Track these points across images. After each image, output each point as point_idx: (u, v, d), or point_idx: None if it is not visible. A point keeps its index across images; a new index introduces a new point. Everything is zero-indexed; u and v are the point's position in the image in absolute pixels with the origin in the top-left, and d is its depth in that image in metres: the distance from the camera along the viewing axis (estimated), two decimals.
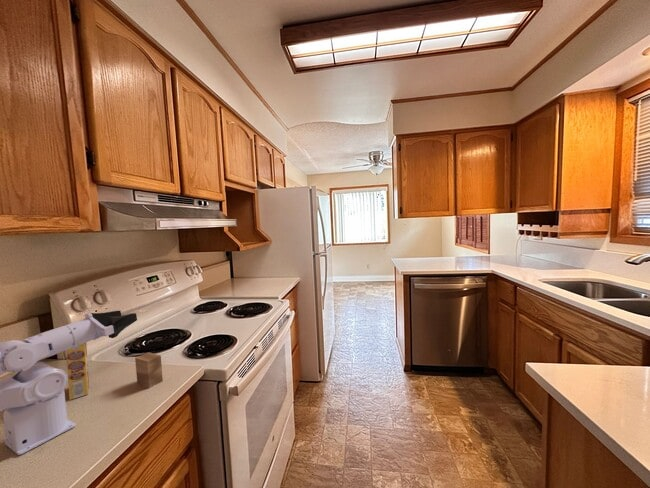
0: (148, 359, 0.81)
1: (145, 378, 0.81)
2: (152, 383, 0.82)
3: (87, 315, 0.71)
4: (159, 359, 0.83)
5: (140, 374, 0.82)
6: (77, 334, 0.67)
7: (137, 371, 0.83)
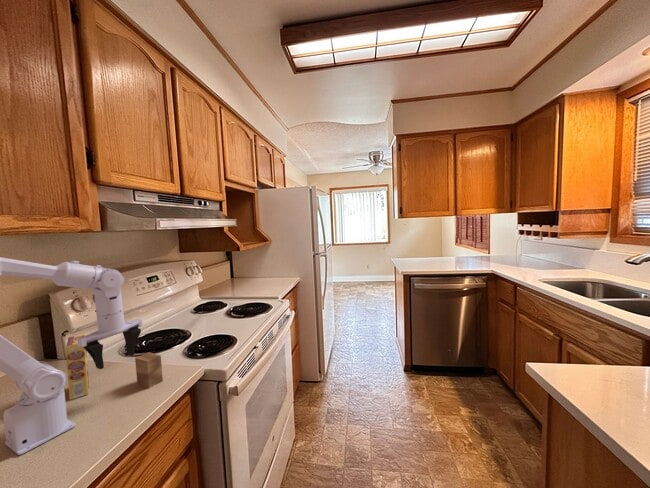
0: (148, 359, 0.81)
1: (145, 378, 0.81)
2: (152, 383, 0.82)
3: None
4: (159, 359, 0.83)
5: (140, 374, 0.82)
6: None
7: (137, 371, 0.83)
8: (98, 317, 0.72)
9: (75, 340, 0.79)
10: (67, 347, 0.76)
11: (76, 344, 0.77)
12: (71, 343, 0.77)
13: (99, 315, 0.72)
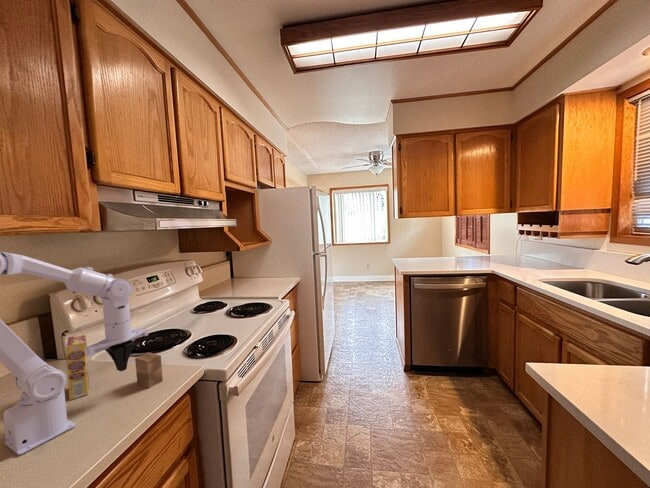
0: (148, 359, 0.81)
1: (145, 378, 0.81)
2: (152, 383, 0.82)
3: None
4: (159, 359, 0.83)
5: (140, 374, 0.82)
6: None
7: (137, 371, 0.83)
8: (106, 326, 0.74)
9: (75, 340, 0.79)
10: (67, 347, 0.76)
11: (76, 344, 0.77)
12: (71, 343, 0.77)
13: (107, 324, 0.73)
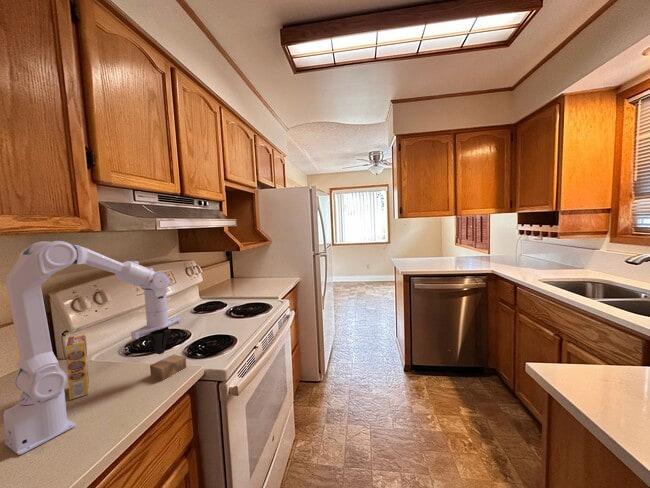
0: None
1: (166, 363, 0.87)
2: (165, 370, 0.85)
3: None
4: None
5: (164, 361, 0.89)
6: None
7: (164, 359, 0.90)
8: (147, 314, 0.83)
9: (75, 340, 0.79)
10: (67, 347, 0.76)
11: (76, 344, 0.77)
12: (71, 343, 0.77)
13: (149, 312, 0.83)
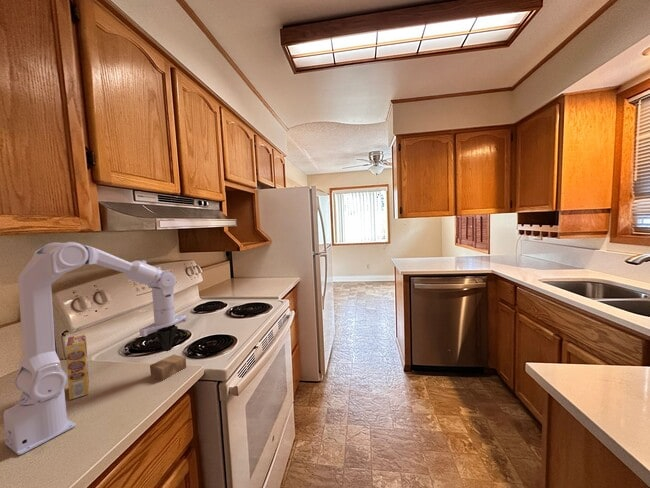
0: None
1: (166, 363, 0.87)
2: (165, 370, 0.85)
3: None
4: None
5: (164, 361, 0.89)
6: None
7: (164, 359, 0.90)
8: (155, 312, 0.85)
9: (75, 340, 0.79)
10: (67, 347, 0.76)
11: (76, 344, 0.77)
12: (71, 343, 0.77)
13: (157, 310, 0.85)
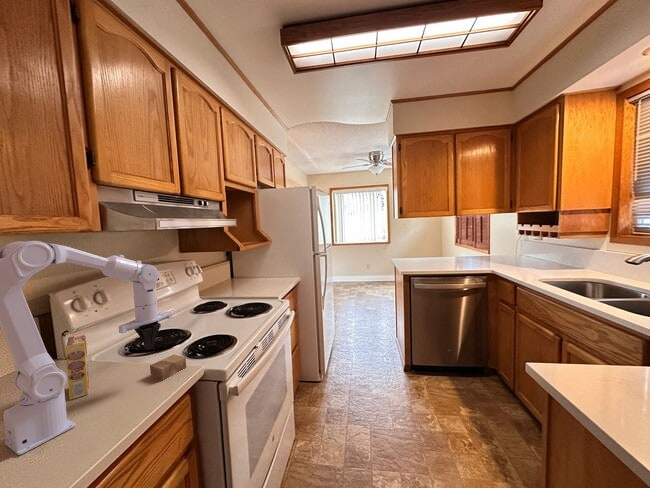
0: None
1: (166, 364, 0.87)
2: (165, 370, 0.85)
3: None
4: None
5: (163, 361, 0.89)
6: None
7: (164, 360, 0.90)
8: (136, 307, 0.80)
9: (75, 340, 0.79)
10: (67, 347, 0.76)
11: (76, 344, 0.77)
12: (71, 343, 0.77)
13: (137, 306, 0.80)
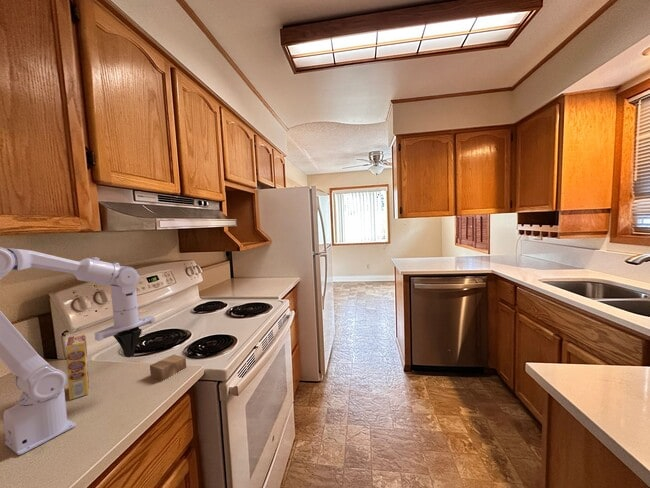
0: None
1: (166, 364, 0.87)
2: (165, 370, 0.85)
3: None
4: None
5: (163, 361, 0.89)
6: None
7: (164, 360, 0.90)
8: (114, 312, 0.75)
9: (75, 340, 0.79)
10: (67, 347, 0.76)
11: (76, 344, 0.77)
12: (71, 343, 0.77)
13: (115, 311, 0.75)
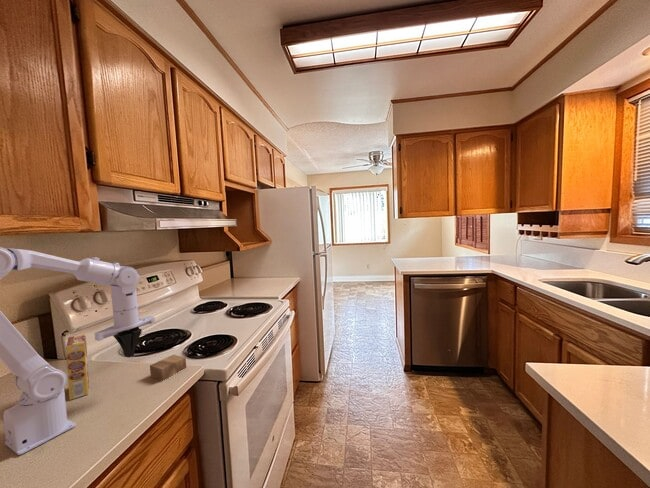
0: None
1: (166, 364, 0.87)
2: (165, 370, 0.85)
3: None
4: None
5: (164, 361, 0.89)
6: None
7: (164, 360, 0.90)
8: (114, 312, 0.75)
9: (75, 340, 0.79)
10: (67, 347, 0.76)
11: (76, 344, 0.77)
12: (71, 343, 0.77)
13: (115, 311, 0.75)
